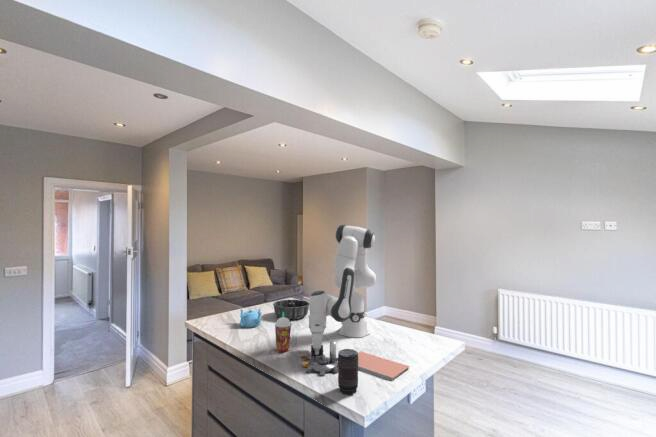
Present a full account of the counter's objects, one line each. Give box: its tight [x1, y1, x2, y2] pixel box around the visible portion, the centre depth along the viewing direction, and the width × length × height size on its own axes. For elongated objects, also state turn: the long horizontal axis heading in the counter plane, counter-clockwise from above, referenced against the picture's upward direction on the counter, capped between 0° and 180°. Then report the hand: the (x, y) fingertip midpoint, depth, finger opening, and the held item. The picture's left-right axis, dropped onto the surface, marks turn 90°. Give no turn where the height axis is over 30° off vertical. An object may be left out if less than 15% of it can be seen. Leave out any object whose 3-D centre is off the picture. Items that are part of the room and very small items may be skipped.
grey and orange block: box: [310, 344, 324, 358], centre depth 163 cm, size 3×6×5 cm, turn 91°
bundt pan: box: [272, 299, 309, 321], centre depth 234 cm, size 26×26×10 cm
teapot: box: [239, 307, 263, 329], centre depth 212 cm, size 15×15×10 cm
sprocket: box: [302, 340, 339, 376], centre depth 151 cm, size 18×18×10 cm
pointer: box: [300, 353, 311, 362], centre depth 159 cm, size 4×2×2 cm, turn 46°
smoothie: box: [274, 312, 292, 354], centre depth 169 cm, size 8×8×20 cm
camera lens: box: [337, 348, 359, 396], centre depth 129 cm, size 8×8×15 cm
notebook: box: [357, 351, 410, 381], centre depth 152 cm, size 27×17×2 cm, turn 50°
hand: (317, 351), depth 163 cm, fingers open, 5 cm apart
